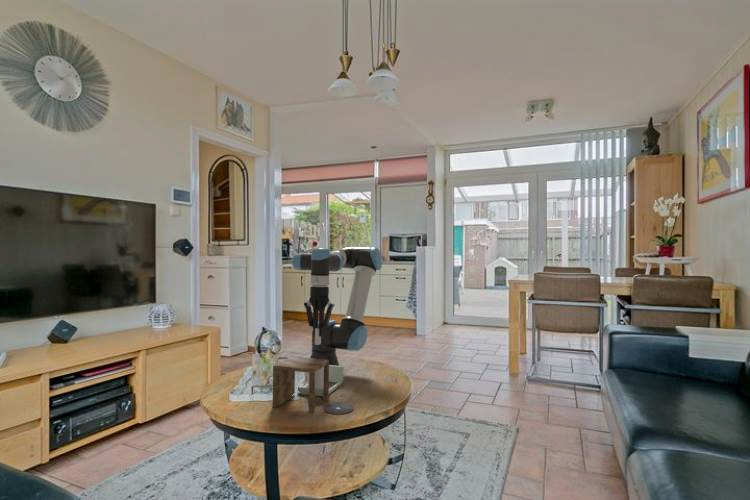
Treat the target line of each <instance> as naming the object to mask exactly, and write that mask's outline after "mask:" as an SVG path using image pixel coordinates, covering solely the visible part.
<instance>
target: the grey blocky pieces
mask: <svg viewBox="0 0 750 500" xmlns="http://www.w3.org/2000/svg"><path fill="white" fill-rule="evenodd" d="M329 383H335V384H333V386H331V387H330V388H329V395H331V394H332V392H333V391H335V390H336V389H337V388H338V387H340V386H341V385H342V384H344V366H342V365H339V366H334V365H329ZM298 391H299V392H300V393H299V394H301V395H302V394H303V395H309V387H308V383H306V384H304V385H303V386H301V385H299V386H297V392H298ZM315 396H317V397H318V396H319V397H323V389H319V388H315Z"/></svg>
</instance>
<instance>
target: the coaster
mask: <svg viewBox="0 0 750 500" xmlns="http://www.w3.org/2000/svg"><path fill="white" fill-rule="evenodd" d="M354 409H355V407H354V405H353V404H352V403H350V402H346V401H331V402H328V403H326V404H324V405H323V412H325V413H327V414H331V415H347V414H349V413H352V412H353V411H354Z"/></svg>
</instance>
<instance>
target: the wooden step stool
mask: <svg viewBox="0 0 750 500" xmlns="http://www.w3.org/2000/svg"><path fill="white" fill-rule="evenodd" d="M322 367H324V388H323V396H322V397H323V399H322V400H323V401H325V402H328V401H329V395H330V394H329V389H330V388H329V387H330V384H329V383H330V382H329V360H323V359H313V358H310V357H300V356H292V355H291V356H289V357H287V358H286V359H283V360H281V361H280V362H277V363H275V364H273V367H272V404H271V405H272V407H271V408H275V409H276V408H278V407H279V406H281V405H282V404H284V403H285V402H288V400H290V399H291V398H293V397H292V395H293V394H294V393H295V392H296V391H295V387H296V384H295V383H296V372H297V373H298V372H299V373H307V374H308V373H309V394H308V413H310V414H313V413H315V407H316V406H315V402H316V401H315V399H316V398H315V397H316V395H315V372H316V371H318V370H319V369H321V368H322Z"/></svg>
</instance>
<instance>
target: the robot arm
mask: <svg viewBox="0 0 750 500" xmlns="http://www.w3.org/2000/svg"><path fill="white" fill-rule="evenodd" d="M382 257H383V256H382V253H381V251H380V249H379V248H378V247H376V246H375V247H374V246H373V247H372V246H348V247H342V248H336V249H334V250H332V251H331V250H330V249H329V248H323V247H322V248H321V247H320V248H319V247H318V248H316V247H315V248H313V249H311V253H310V252H309V253H307V252H306V253H304V252H303V253H302V252H300V253H295V254H294V255H293V257H292V261H291V262H292V263H291V264H292V267H293V269H295V271H309V272H310V285H311V286H310V288H309V289H310V290H309V298H308V299H309V300H307V301H305V302H304V303H303V306H304V307H305V312H306V316H307V323H308V326H309V327H311V328H312V329H311V353H310V354H311V355H310V357H309V358H313V359H323V360H329V365H334V366H340V362H339V359H338V355H337V351H336V350H345V351H357V352H358V351H361V350H362V349H363V348H364V346H365V344H366V342H367V338H368V328H367V327H366V323H365V322H364V321H363V320H364V318H365V317H364V316H365V312H366V311H365V310H366V307H367V302H368V299H369V298H368V297H369V293H370V288H371V283H372V279H373V277H374V276H375V275H376V274H377V273H376V272H377V271H379V270H381V269H382V265H383V258H382ZM342 269H351V270H353V271H354V273H355V274H354V277H353V283H352V287H351V291H350V295H349V300H348V305H347V309H346V312H345V316H344V317H343V318H341V321H340V323H337V320H336V319H330V318H331V316H332V315H331V314H332V311H333V308H334V307H335V304H334V303H332V302H331V301H330V298H329V295H330V289H329V288H330V287H329V285H330V272H339V271H340V270H342ZM326 307H327V308H326ZM325 311H326V312H325Z"/></svg>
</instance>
